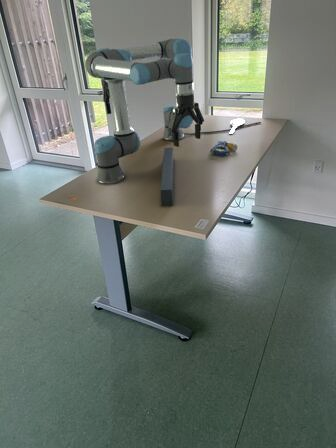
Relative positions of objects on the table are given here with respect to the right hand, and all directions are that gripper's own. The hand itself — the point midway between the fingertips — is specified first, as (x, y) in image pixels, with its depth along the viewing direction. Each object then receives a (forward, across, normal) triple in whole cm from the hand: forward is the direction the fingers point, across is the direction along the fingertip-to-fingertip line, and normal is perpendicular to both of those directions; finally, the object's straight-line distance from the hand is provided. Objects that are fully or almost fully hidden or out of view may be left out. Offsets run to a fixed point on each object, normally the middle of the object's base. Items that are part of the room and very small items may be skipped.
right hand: (113, 115), depth 205 cm
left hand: (+2, +72, +7) cm, 72 cm away
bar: (+28, +51, +7) cm, 59 cm away
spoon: (+28, 0, +98) cm, 101 cm away
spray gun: (+28, +36, +58) cm, 73 cm away
